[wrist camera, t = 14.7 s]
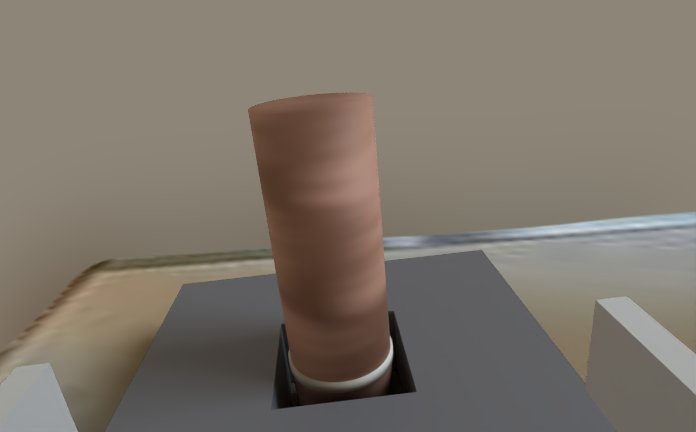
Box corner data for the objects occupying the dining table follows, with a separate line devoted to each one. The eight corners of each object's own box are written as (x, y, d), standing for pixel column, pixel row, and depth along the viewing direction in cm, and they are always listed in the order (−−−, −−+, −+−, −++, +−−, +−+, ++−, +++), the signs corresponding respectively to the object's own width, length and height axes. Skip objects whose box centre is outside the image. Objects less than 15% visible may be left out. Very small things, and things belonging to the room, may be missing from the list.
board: (480, 301, 32) (481, 249, 31) (657, 584, 16) (677, 502, 14) (196, 334, 32) (183, 284, 30) (64, 664, 15) (20, 588, 14)
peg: (389, 378, 26) (367, 88, 20) (405, 452, 21) (383, 104, 16) (302, 388, 26) (254, 100, 20) (299, 465, 21) (235, 120, 15)
